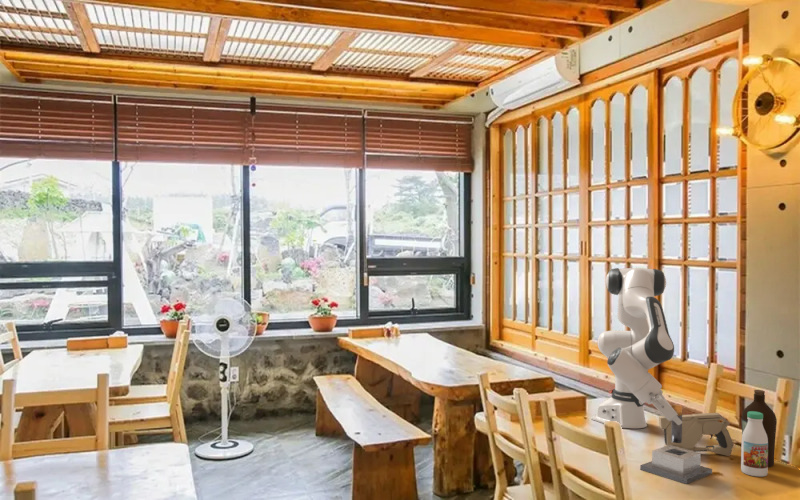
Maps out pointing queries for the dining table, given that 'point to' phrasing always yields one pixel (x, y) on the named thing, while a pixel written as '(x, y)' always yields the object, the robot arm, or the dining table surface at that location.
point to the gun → (700, 432)
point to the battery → (677, 429)
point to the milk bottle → (754, 446)
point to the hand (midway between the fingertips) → (678, 421)
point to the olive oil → (768, 421)
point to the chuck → (676, 464)
